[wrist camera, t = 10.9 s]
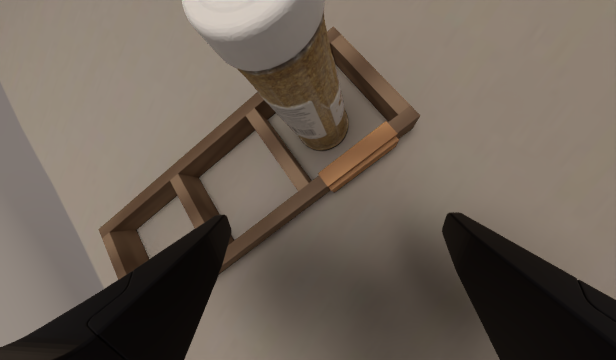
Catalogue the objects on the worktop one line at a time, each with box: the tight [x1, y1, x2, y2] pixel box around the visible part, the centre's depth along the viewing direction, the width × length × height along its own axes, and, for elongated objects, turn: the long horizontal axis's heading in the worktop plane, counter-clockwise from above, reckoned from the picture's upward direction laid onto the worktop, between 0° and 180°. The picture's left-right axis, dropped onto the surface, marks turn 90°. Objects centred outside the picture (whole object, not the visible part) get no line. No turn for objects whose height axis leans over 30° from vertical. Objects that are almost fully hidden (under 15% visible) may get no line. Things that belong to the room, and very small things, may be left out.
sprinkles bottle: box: [182, 0, 348, 150], centre depth 13 cm, size 5×5×14 cm
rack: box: [99, 27, 420, 280], centre depth 19 cm, size 10×28×3 cm, turn 125°
